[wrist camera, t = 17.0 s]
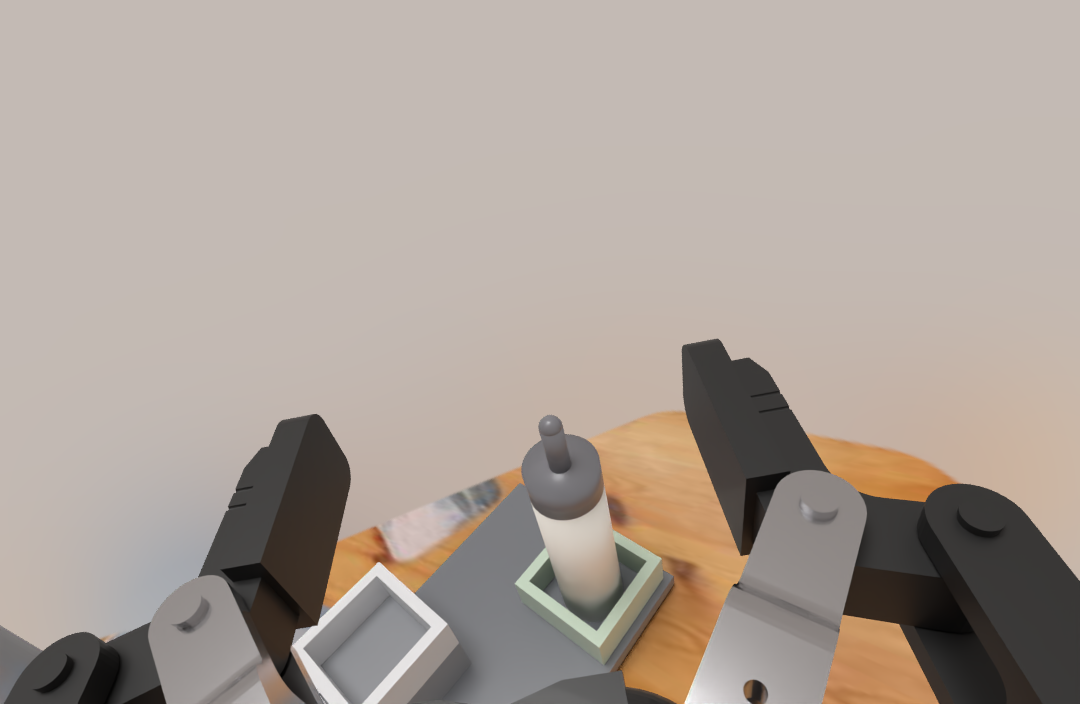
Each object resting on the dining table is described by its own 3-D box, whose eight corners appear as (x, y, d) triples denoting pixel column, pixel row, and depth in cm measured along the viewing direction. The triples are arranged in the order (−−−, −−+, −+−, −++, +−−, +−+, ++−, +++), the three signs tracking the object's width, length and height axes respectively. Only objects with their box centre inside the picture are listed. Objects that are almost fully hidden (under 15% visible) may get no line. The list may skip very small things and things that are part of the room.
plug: (600, 634, 37) (555, 466, 26) (550, 598, 39) (489, 430, 28) (635, 583, 39) (607, 407, 28) (586, 552, 41) (542, 378, 30)
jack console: (472, 887, 29) (435, 861, 25) (325, 699, 38) (279, 658, 34) (674, 583, 40) (670, 530, 36) (522, 490, 48) (505, 439, 44)
